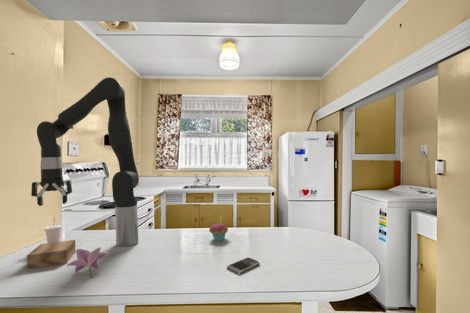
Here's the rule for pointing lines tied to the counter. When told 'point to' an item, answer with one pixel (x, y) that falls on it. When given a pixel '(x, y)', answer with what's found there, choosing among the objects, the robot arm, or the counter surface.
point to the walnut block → (51, 254)
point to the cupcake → (218, 230)
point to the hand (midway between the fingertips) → (52, 204)
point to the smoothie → (53, 232)
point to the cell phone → (242, 265)
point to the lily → (87, 259)
